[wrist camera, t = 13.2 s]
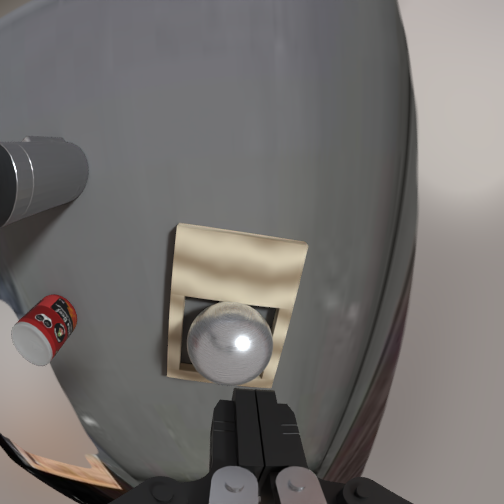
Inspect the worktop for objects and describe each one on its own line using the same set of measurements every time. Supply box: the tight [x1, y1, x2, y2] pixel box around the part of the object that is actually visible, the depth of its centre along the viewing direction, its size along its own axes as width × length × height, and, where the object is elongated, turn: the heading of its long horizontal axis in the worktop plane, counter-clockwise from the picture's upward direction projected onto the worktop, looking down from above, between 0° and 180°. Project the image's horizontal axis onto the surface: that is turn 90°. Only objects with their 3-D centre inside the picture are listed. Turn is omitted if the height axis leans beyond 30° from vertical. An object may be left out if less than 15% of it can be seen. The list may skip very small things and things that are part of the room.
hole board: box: [167, 223, 308, 388], centre depth 45 cm, size 26×18×2 cm
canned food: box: [11, 294, 77, 366], centre depth 39 cm, size 8×8×11 cm
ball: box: [187, 302, 273, 386], centre depth 41 cm, size 12×12×12 cm
